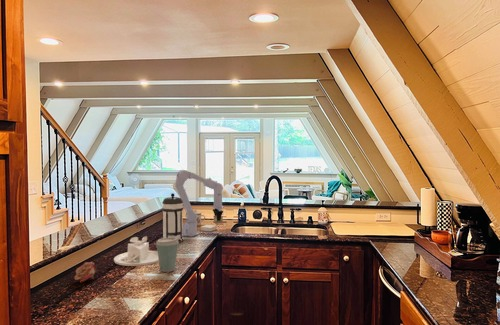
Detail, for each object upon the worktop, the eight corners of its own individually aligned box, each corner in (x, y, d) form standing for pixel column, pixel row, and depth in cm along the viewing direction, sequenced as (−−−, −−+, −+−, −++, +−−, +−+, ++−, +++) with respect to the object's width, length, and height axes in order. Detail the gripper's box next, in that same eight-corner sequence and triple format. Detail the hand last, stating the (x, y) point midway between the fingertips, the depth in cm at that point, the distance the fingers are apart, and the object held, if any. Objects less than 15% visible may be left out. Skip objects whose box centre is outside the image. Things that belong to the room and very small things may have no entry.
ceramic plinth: (210, 232, 261) (210, 227, 261) (200, 230, 265) (200, 226, 265) (216, 229, 268) (216, 225, 268) (207, 228, 272) (207, 224, 272)
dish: (113, 255, 203) (113, 234, 203) (160, 251, 212) (160, 231, 211) (114, 268, 180) (113, 245, 180) (166, 263, 189) (166, 241, 188)
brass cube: (222, 223, 255) (222, 216, 255) (215, 223, 254) (215, 216, 254) (220, 222, 260) (220, 215, 260) (213, 222, 258) (213, 215, 258)
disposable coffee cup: (156, 274, 171) (156, 242, 170) (155, 267, 181) (155, 236, 181) (179, 272, 174) (179, 240, 173) (177, 265, 184) (177, 235, 184)
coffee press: (154, 242, 230) (154, 194, 229) (171, 237, 244) (171, 191, 243) (176, 245, 222) (176, 195, 221) (192, 240, 236) (192, 193, 235)
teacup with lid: (189, 226, 280) (189, 210, 280) (189, 223, 289) (189, 208, 289) (205, 225, 281) (205, 210, 281) (205, 223, 290) (205, 208, 290)
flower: (95, 271, 170) (84, 258, 167) (105, 271, 164) (94, 258, 162) (79, 288, 164) (67, 275, 161) (89, 288, 158) (77, 276, 155)
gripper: (226, 201, 251) (226, 221, 251) (221, 198, 264) (221, 217, 265) (215, 201, 248) (215, 222, 249) (211, 199, 262) (211, 218, 263)
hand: (217, 219), depth 257 cm, fingers closed on brass cube, 5 cm apart
